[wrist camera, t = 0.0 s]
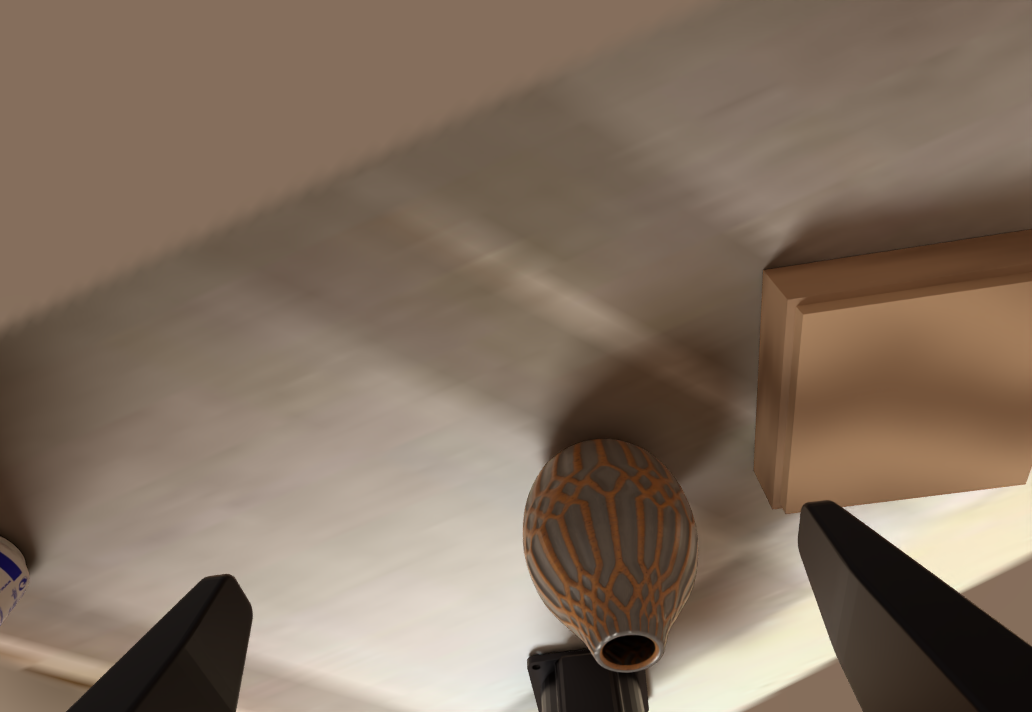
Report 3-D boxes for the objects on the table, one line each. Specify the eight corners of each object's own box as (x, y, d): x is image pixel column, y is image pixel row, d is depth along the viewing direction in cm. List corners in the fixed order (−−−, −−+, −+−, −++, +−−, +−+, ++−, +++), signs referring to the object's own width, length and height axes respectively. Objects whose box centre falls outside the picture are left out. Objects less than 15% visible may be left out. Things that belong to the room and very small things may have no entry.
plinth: (983, 440, 28) (1031, 488, 26) (753, 470, 29) (777, 520, 26) (1046, 226, 23) (1115, 261, 20) (763, 270, 24) (794, 308, 21)
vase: (618, 544, 31) (654, 727, 24) (494, 497, 29) (490, 679, 22) (704, 448, 28) (776, 625, 21) (571, 389, 26) (597, 560, 19)
